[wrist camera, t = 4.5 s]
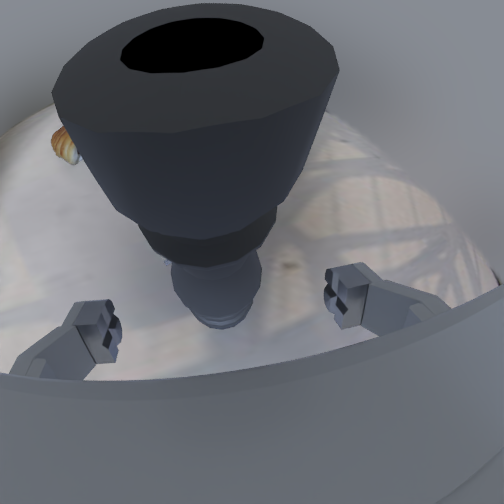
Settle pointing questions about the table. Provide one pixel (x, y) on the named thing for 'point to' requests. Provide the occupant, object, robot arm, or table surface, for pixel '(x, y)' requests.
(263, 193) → the candle holder
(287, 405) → the robot arm
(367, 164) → the table surface
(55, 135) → the pastry
